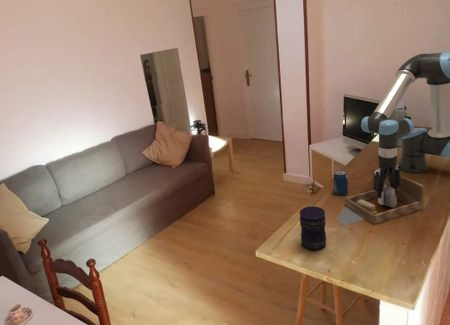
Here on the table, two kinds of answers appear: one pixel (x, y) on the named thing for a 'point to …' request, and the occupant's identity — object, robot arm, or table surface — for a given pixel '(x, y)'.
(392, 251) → the table surface
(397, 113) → the grey red bottle
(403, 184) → the wooden tray
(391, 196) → the stone block
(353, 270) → the table surface
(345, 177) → the soda can
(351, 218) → the mat
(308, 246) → the storage jar
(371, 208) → the offcut short
